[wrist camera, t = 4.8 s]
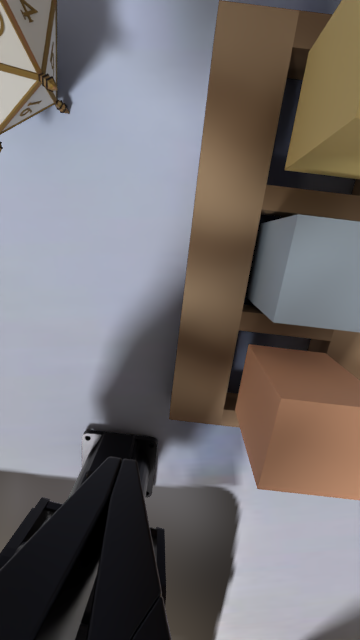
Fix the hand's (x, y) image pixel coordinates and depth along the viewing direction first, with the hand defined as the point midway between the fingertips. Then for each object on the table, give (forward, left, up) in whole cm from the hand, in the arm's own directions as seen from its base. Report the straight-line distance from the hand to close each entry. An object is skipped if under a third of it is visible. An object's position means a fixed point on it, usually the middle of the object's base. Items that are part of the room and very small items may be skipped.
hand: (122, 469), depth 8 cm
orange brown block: (-2, -8, -10) cm, 13 cm away
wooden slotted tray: (+6, -8, -13) cm, 16 cm away
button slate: (+6, -8, -12) cm, 16 cm away
